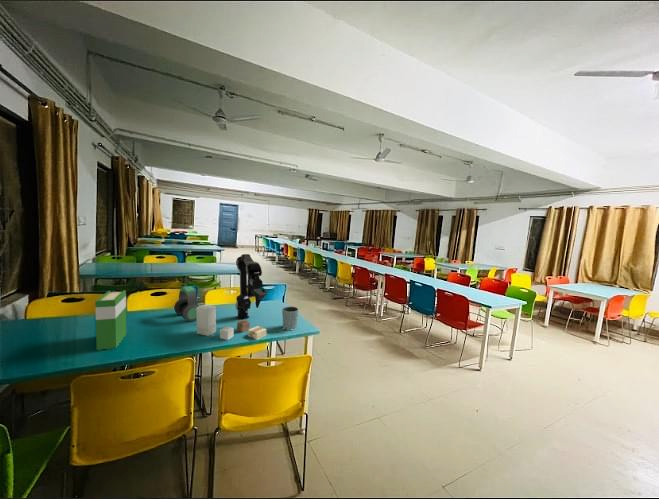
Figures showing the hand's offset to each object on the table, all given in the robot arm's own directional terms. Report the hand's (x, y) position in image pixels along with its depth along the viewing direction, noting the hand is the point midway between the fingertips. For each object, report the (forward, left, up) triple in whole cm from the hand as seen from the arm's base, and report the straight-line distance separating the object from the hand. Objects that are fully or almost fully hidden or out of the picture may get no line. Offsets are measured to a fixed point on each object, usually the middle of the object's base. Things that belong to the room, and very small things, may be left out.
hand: (251, 309), depth 160 cm
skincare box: (-15, -19, -13) cm, 27 cm away
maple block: (+9, -3, -13) cm, 16 cm away
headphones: (-44, -13, -13) cm, 48 cm away
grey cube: (-2, -15, -12) cm, 20 cm away
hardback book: (-40, -54, -13) cm, 69 cm away
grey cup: (+15, +18, -13) cm, 26 cm away
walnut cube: (-3, -3, -12) cm, 13 cm away
